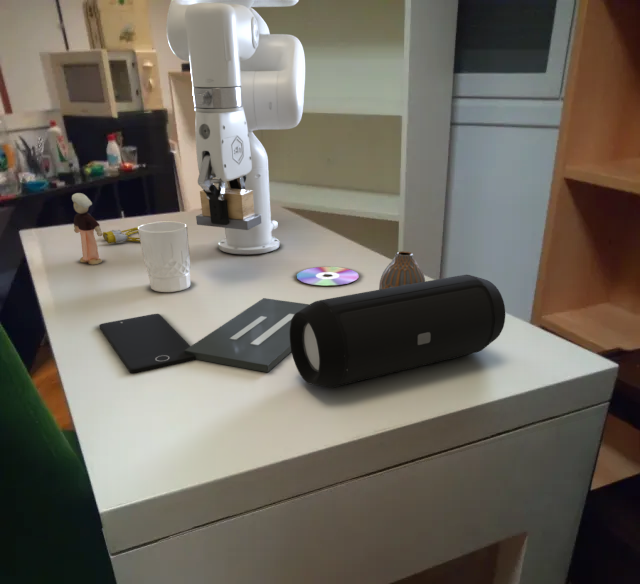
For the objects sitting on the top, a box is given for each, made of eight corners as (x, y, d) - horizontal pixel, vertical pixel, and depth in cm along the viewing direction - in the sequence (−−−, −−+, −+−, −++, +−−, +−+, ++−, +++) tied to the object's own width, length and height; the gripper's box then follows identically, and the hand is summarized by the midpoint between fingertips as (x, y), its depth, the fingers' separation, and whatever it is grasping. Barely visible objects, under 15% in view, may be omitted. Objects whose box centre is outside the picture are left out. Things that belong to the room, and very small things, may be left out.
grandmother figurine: (70, 262, 115) (54, 193, 108) (84, 257, 118) (69, 190, 111) (102, 266, 112) (88, 196, 106) (115, 261, 115) (102, 192, 109)
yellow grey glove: (105, 233, 136) (104, 224, 135) (175, 229, 139) (174, 220, 138) (101, 246, 125) (99, 236, 124) (177, 241, 129) (176, 232, 128)
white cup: (183, 295, 98) (175, 233, 93) (139, 292, 99) (128, 231, 94) (201, 280, 104) (194, 222, 99) (159, 278, 106) (150, 220, 101)
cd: (372, 277, 105) (372, 276, 105) (323, 290, 99) (323, 289, 99) (331, 263, 113) (331, 263, 113) (283, 274, 107) (283, 274, 107)
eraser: (196, 224, 102) (192, 191, 99) (212, 218, 106) (208, 185, 103) (247, 230, 99) (245, 195, 96) (261, 223, 103) (259, 189, 100)
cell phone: (131, 377, 73) (130, 370, 72) (99, 329, 86) (98, 323, 86) (200, 361, 76) (199, 354, 76) (159, 318, 90) (158, 312, 89)
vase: (427, 305, 93) (432, 249, 88) (418, 321, 87) (423, 261, 82) (384, 301, 94) (386, 245, 90) (373, 316, 89) (375, 257, 84)
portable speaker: (324, 407, 65) (324, 320, 60) (287, 372, 73) (284, 293, 67) (503, 361, 75) (516, 283, 70) (454, 334, 82) (462, 263, 77)
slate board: (263, 303, 94) (263, 297, 93) (334, 313, 90) (334, 307, 89) (185, 357, 77) (184, 349, 76) (267, 372, 72) (267, 364, 72)
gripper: (209, 105, 85) (222, 234, 94) (264, 96, 98) (270, 211, 108) (166, 104, 87) (182, 230, 97) (225, 95, 100) (234, 207, 110)
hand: (228, 218), depth 102 cm, fingers closed on eraser, 5 cm apart
